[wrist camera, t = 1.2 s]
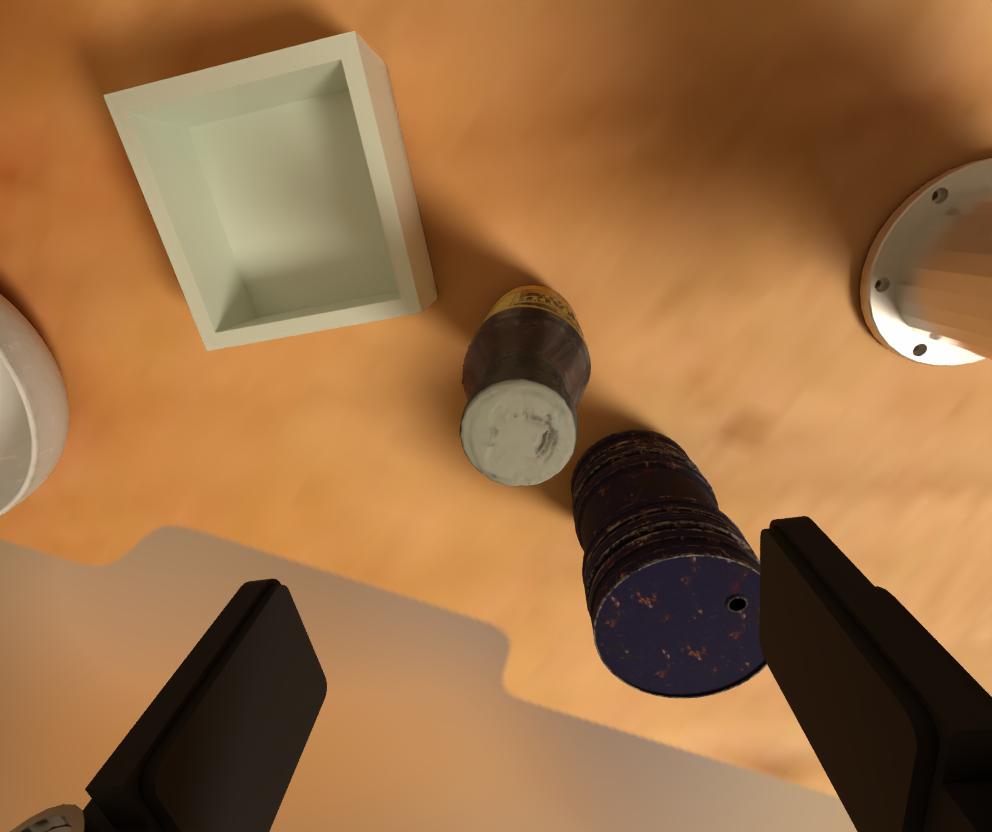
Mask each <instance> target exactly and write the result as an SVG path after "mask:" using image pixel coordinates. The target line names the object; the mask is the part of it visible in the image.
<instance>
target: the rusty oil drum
mask: <svg viewBox="0 0 992 832" xmlns="http://www.w3.org/2000/svg"><path fill="white" fill-rule="evenodd" d="M571 491H572V499H573V503H572V508H573V515H574V522H575V529H576V534H577V537H578V540H579V542H580V545H581V547H582V549H583V551H584V557H583V568H582V576H583V584H584V587H585V595H586V601H587V608H588V611H589V614H590V617H591V621H592V627H593V634H594V641H595V646H596V649H597V652H598V654H599V656H600V658H601V660H602V661H603V663H604V665H605V666H606V667H607V668H608V669H609V670H610V672H611V673H612V674H614V675H615V676H616V677H617V678H618V679H620V680H621V681H622V682H624V683H626V684H627V685H629V686H631V687H633V688H635V689H637V690H640V691H642V692H645V693H649V694H652V695H656V696H662V697H668V698H698V697H704V696H709V695H714V694H717V693H721V692H724V691H727V690H729V689H732V688H734V687H737V686H739V685H741V684H742V683H744V682H746V681H748V680H749V679H751V678H752V677H754V676H755V675H756V674H758V673H759V672H760V671H761V670H762V669H763V668H764V667H765V666H766V665H767V663H766V661H765V659H764V656H763V654H762V650H761V647H760V641H759V620H760V560H759V559H758V557H757V556H756V554H755V553H754V551H753V550H752V548H751V547H750V545H749V544H748V542H747V541H746V539H745V537H744V536H743V534H742V533H741V531H740V530H739V528H738V527H737V526H736V525H735V524H734V523H733V522H732V521H731V520H730V519H729V518H728V517H727V516H726V515H725V514H724V513H722V512H721V511H719V508H718V503H717V500H716V498H715V494H714V492H713V490H712V487H711V486H710V484H709V483H708V481H707V480H706V479H705V478H704V477H703V475H702V474H701V472H700V471H699V469H698V468H697V466H696V465H695V464H694V463H693V462H692V461H691V460H690V459H689V457H688V456H687V454H686V453H685V451H684V450H683V449H682V448H681V447H680V446H679V445H678V444H677V443H675V442H674V441H673V440H671V439H669V438H667V437H665V436H663V435H661V434H658V433H655V432H651V431H644V430H630V431H622V432H619V433H615V434H612V435H610V436H607V437H605V438H603V439H601V440H600V441H598V442H596V443H595V444H594V445H592V446H591V447H590V448H589V449H588V450H587V451H586V452H585V453H584V454H583V455H582V457H581V458H580V460H579V461H578V463H577V465H576V467H575V469H574V472H573V476H572V481H571Z"/></svg>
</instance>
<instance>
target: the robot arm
mask: <svg viewBox="0 0 992 832" xmlns="http://www.w3.org/2000/svg"><path fill="white" fill-rule="evenodd" d="M876 282H877V283H876ZM875 284H876V285H875ZM860 300H861V309H862V312H863V315H864V319H865V322H866V324H867V326H868V327H869V329H870V331H871V332H872V334H873V336H874V337H875V338H876V339H877V340H878V341H879V342H880V343H881V344H882V345H883V346H884V347H885V348H887V349H888V350H890V351H892V352H893V353H895V354H897V355H898V356H901V357H903V358H906V359H908V360H911V361H914V362H917V363H922V364H927V365H931V366H956V365H962V364H969V363H973V362H977V361H980V360H983V359H987V358H988V359H991V360H992V158H989V159H983V160H978V161H973V162H969V163H967V164H964V165H961V166H959V167H956V168H953V169H951V170H948V171H947V172H945V173H943V174H941V175H939V176H938V177H936V178H934V179H932V180H931V181H929V182H927V183H926V184H925V185H923V186H922V187H921V188H919V189H918V190H917V191H916V192H914V193H913V194H912V195H910V196H909V197H908V198H907V199H906V200H905V201H904V202H903V203H902V204H901V205H900V206H899V207H898V208H897V209H896V210H895V211H894V212H893V213H892V215H891V216H890V217H889V219H888V220H887V221H886V223H885V224H884V226H883V227H882V228H881V230H880V231H879V232H878V234H877V236H876V238H875V240H874V242H873V244H872V246H871V248H870V250H869V252H868V255H867V258H866V261H865V264H864V267H863V270H862V277H861V284H860ZM759 641H760V647H761V650H762V654H763V656H764V659H765V661H766V663H767V665H768V666H769V668H770V670H771V672H772V674H773V676H774V678H775V679H776V681H777V683H778V685H779V687H780V689H781V691H782V692H783V694H784V696H785V698H786V700H787V702H788V704H789V705H790V707H791V709H792V711H793V713H794V715H795V717H796V718H797V720H798V722H799V724H800V726H801V728H802V729H803V731H804V733H805V735H806V737H807V739H808V741H809V742H810V744H811V746H812V748H813V750H814V752H815V754H816V755H817V757H818V759H819V761H820V763H821V765H822V767H823V768H824V770H825V772H826V774H827V776H828V778H829V779H830V781H831V783H832V785H833V787H834V789H835V791H836V792H837V794H838V796H839V798H840V800H841V802H842V804H843V805H844V807H845V809H846V811H847V813H848V815H849V817H850V818H851V820H852V822H853V824H854V826H855V828H856V830H857V831H858V832H992V697H991V696H990V695H989V694H988V693H987V692H986V691H985V690H984V689H983V688H982V687H981V686H980V685H979V684H978V683H977V681H976V680H975V679H974V678H973V677H972V676H971V675H970V674H969V673H968V672H967V671H966V670H965V669H964V668H963V667H962V666H961V665H960V664H959V663H958V662H957V661H956V660H955V659H954V658H953V657H952V656H951V655H950V654H949V653H948V652H947V651H946V650H945V649H944V647H943V646H942V645H941V644H940V643H939V642H938V641H937V640H936V639H935V638H934V637H933V636H932V635H931V634H930V633H929V632H928V631H927V630H926V629H925V628H924V627H923V626H922V625H921V624H920V623H919V622H918V621H917V620H916V619H915V618H914V617H913V616H912V614H911V613H910V612H909V611H908V610H907V609H906V608H905V607H904V606H903V605H902V604H901V603H900V602H899V601H898V600H897V599H896V598H895V597H894V596H893V595H892V594H890V593H889V592H888V591H887V590H886V589H883V588H881V587H878V586H877V587H875V586H874V585H873V584H872V583H871V582H870V581H869V580H868V579H867V578H866V577H865V576H864V575H863V574H862V572H861V571H860V570H859V569H858V568H857V567H856V566H855V565H854V564H853V563H852V562H851V561H850V560H849V559H848V558H847V557H846V556H845V554H844V553H843V552H842V551H841V550H840V549H839V548H838V547H837V546H836V545H835V544H834V543H833V542H832V541H831V540H830V539H829V538H828V536H827V535H826V534H825V533H824V532H823V531H822V530H821V529H820V528H819V527H818V526H817V525H816V524H815V523H814V522H813V521H812V520H811V519H810V518H809V517H806V516H801V517H793V518H784V519H776V520H773V521H771V523H770V527H769V529H763V530H762V531H761V536H760V620H759ZM326 691H327V682H326V678H325V675H324V673H323V670H322V668H321V665H320V663H319V661H318V658H317V656H316V654H315V651H314V649H313V646H312V644H311V642H310V639H309V637H308V635H307V632H306V630H305V627H304V625H303V623H302V620H301V618H300V615H299V613H298V611H297V609H296V606H295V603H294V601H293V599H292V596H291V594H290V592H289V590H288V588H287V587H286V586H285V585H281V584H280V582H279V581H278V580H277V579H266V580H258V581H250V582H246V583H244V584H243V585H242V586H241V587H240V589H239V590H238V591H237V593H236V594H235V595H234V597H233V598H232V599H231V600H230V602H229V603H228V604H227V606H226V607H225V608H224V609H223V611H222V612H221V613H220V615H219V616H218V617H217V619H216V620H215V621H214V623H213V624H212V625H211V626H210V628H209V629H208V630H207V631H206V633H205V634H204V635H203V637H202V638H201V639H200V641H199V642H198V643H197V644H196V646H195V647H194V648H193V650H192V651H191V652H190V654H189V655H188V656H187V658H186V659H185V660H184V661H183V663H182V664H181V665H180V667H179V668H178V669H177V670H176V672H175V673H174V674H173V676H172V677H171V678H170V680H169V681H168V682H167V683H166V685H165V686H164V687H163V689H162V690H161V691H160V692H159V694H158V695H157V696H156V698H155V699H154V700H153V702H152V703H151V704H150V705H149V707H148V708H147V710H146V711H145V712H144V713H143V715H142V716H141V717H140V719H139V720H138V721H137V722H136V724H135V725H134V726H133V728H132V729H131V730H130V731H129V733H128V734H127V735H126V737H125V738H124V739H123V741H122V742H121V743H120V744H119V746H118V747H117V748H116V750H115V751H114V752H113V754H112V755H111V756H110V757H109V759H108V760H107V761H106V763H105V764H104V765H103V767H102V768H101V769H100V770H99V772H98V773H97V774H96V776H95V777H94V778H93V780H92V781H91V782H90V783H89V785H88V786H87V787H86V789H85V790H86V791H87V792H88V794H89V795H90V797H91V798H92V799H91V800H90V802H89V803H88V804H87V806H86V807H85V809H84V810H81V809H80V808H79V807H77V806H76V805H69V804H62V805H59V806H56V807H52V808H49V809H46V810H44V811H42V812H40V813H38V814H36V815H34V816H32V817H30V818H29V819H27V820H26V821H25V822H23V823H22V824H20V825H19V826H17V827H16V828H14V829H13V830H12V831H10V832H269V831H270V829H271V826H272V824H273V821H274V819H275V817H276V814H277V812H278V810H279V807H280V805H281V802H282V800H283V798H284V795H285V793H286V790H287V788H288V785H289V783H290V780H291V778H292V776H293V773H294V771H295V769H296V766H297V764H298V762H299V759H300V756H301V754H302V752H303V750H304V747H305V745H306V742H307V740H308V738H309V735H310V733H311V730H312V728H313V726H314V723H315V721H316V718H317V716H318V714H319V711H320V709H321V706H322V704H323V702H324V699H325V696H326Z"/></svg>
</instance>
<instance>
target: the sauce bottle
mask: <svg viewBox="0 0 992 832" xmlns="http://www.w3.org/2000/svg"><path fill="white" fill-rule="evenodd" d="M590 371H591V363H590V356H589V352H588V348H587V345H586V343H585V340H584V337H583V333H582V331H581V328H580V326H579V324H578V321H577V318H576V316H575V313H574V311H573V309H572V307H571V306H570V304H569V303H568V302H567V301H566V300H565V298H563V297H562V296H561V295H560V294H559V293H557V292H556V291H554V290H552V289H550V288H547V287H543V286H537V285H528V286H521V287H518V288H515V289H513V290H511V291H509V292H508V293H506V294H505V295H503V296H502V297H501V298H500V299H499V300H498V301H497V302H496V303H495V305H494V306H493V308H492V309H491V311H490V312H489V314H488V315H487V317H486V319H485V320H484V321H483V323H482V324H481V326H480V327H479V329H478V330H477V332H476V334H475V336H474V338H473V340H472V342H471V344H470V345H469V347H468V351H467V353H466V357H465V359H464V365H463V379H462V384H463V385H464V390H465V393H466V396H467V399H468V401H467V403H466V406H465V408H464V411H463V415H462V419H461V425H460V437H461V441H462V446H463V449H464V451H465V454H466V455H467V457H468V459H469V461H470V462H471V463H472V465H473V466H474V467H475V468H476V469H477V470H479V471H480V472H481V473H483V474H484V475H485V476H487V477H488V478H489V479H491V480H493V481H495V482H497V483H500V484H504V485H508V486H529V485H535V484H539V483H542V482H544V481H546V480H549V479H551V478H552V477H553V476H554V475H556V474H557V473H559V472H560V471H561V470H562V469H563V467H564V466H565V465H566V464H567V463H568V461H569V460H570V459H571V457H572V455H573V453H574V450H575V446H576V442H577V431H578V417H577V411H576V408H577V405H578V403H579V401H580V399H581V397H582V395H583V392H584V390H585V388H586V386H587V383H588V381H589V377H590Z"/></svg>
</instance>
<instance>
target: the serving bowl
mask: <svg viewBox="0 0 992 832" xmlns="http://www.w3.org/2000/svg"><path fill="white" fill-rule="evenodd" d="M68 427H69V406H68V398H67V393H66V389H65V385H64V382H63V379H62V376H61V373H60V371H59V368H58V366H57V364H56V362H55V360H54V358H53V356H52V354H51V352H50V351H49V349H48V347H47V346H46V344H45V342H44V341H43V339H42V338H41V337H40V335H39V334H38V333H37V331H36V330H35V329H34V327H33V326H32V325H31V324H30V323H29V321H28V320H27V319H26V318H25V317H24V316H23V315H22V314H21V313H20V312H19V311H18V310H17V309H16V308H15V307H14V306H13V305H12V304H11V303H10V302H9V301H8V300H7V299H6V298H4V297H3V296H2V295H1V294H0V516H1V515H2V514H4V513H6V512H8V511H9V510H10V509H12V508H13V507H14V506H16V505H17V504H19V503H20V502H21V501H23V500H24V499H25V498H27V497H28V496H29V495H30V494H31V493H32V492H34V491H35V490H36V489H37V488H38V487H39V486H40V485H41V484H42V483H43V482H44V481H45V479H46V478H47V477H48V476H49V474H50V473H51V472H52V470H53V469H54V467H55V465H56V464H57V462H58V460H59V458H60V456H61V454H62V451H63V448H64V446H65V442H66V439H67V434H68Z"/></svg>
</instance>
